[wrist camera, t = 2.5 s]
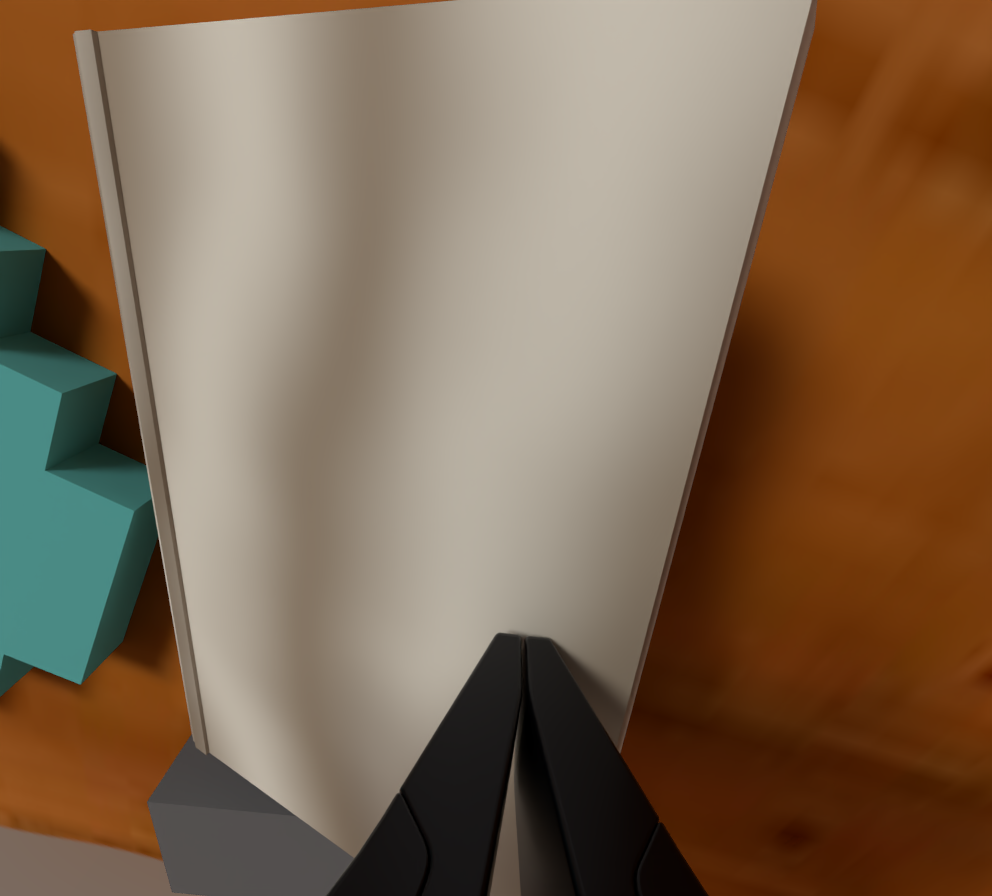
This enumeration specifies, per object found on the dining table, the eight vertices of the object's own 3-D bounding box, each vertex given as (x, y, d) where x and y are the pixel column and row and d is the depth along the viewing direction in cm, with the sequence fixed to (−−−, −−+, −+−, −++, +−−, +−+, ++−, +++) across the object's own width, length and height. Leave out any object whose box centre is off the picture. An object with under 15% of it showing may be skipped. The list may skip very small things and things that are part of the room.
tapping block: (427, 738, 19) (411, 827, 16) (426, 822, 20) (410, 916, 18) (202, 717, 19) (147, 802, 16) (219, 802, 21) (172, 892, 18)
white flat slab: (814, 28, 6) (820, -36, 5) (573, 929, 13) (548, 1006, 12) (155, 59, 11) (66, 32, 10) (235, 706, 18) (190, 743, 16)
